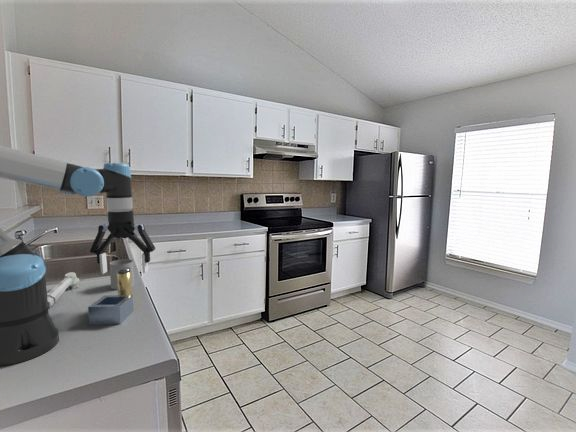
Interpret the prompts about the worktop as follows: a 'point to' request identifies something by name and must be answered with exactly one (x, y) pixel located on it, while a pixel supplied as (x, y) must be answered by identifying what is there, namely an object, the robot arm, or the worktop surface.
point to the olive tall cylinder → (124, 281)
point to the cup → (116, 265)
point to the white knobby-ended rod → (62, 288)
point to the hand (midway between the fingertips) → (124, 272)
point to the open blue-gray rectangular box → (110, 309)
